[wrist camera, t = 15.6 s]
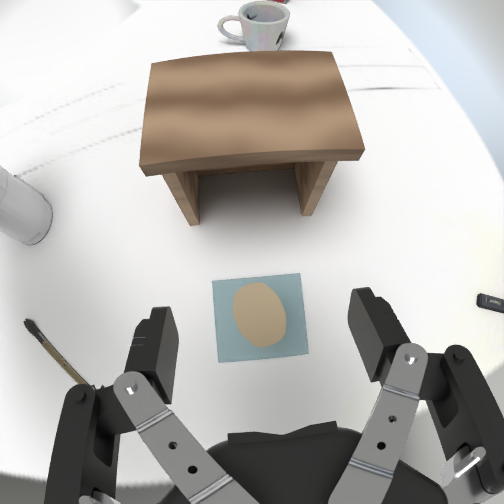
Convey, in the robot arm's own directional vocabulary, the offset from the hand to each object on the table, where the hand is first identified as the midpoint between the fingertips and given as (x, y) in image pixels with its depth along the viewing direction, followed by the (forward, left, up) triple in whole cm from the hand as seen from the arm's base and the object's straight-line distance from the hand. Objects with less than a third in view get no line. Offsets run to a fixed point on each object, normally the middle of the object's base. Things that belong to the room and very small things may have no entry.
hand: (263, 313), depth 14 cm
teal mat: (-1, +1, -33) cm, 33 cm away
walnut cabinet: (-18, +7, -33) cm, 38 cm away
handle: (-1, +1, -32) cm, 32 cm away
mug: (-53, +25, -33) cm, 67 cm away
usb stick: (+18, +41, -33) cm, 56 cm away
